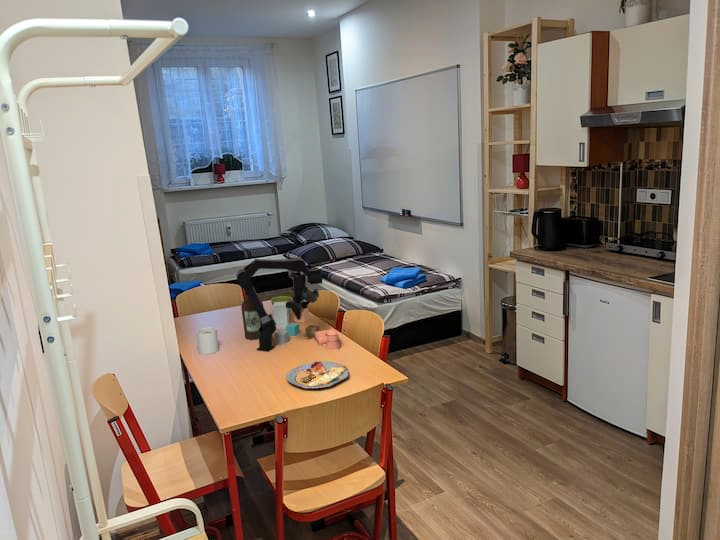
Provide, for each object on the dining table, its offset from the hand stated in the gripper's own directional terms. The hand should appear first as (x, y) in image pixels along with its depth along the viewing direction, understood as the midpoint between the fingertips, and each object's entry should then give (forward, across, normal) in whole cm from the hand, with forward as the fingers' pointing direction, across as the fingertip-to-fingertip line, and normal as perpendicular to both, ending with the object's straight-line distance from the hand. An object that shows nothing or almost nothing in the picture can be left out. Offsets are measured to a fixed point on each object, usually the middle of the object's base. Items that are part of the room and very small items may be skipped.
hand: (301, 317), depth 257 cm
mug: (+13, -19, +39) cm, 45 cm away
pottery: (+13, +3, -12) cm, 18 cm away
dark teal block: (+13, +11, +11) cm, 20 cm away
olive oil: (+13, +3, +28) cm, 31 cm away
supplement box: (+13, +20, +22) cm, 33 cm away
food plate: (+14, -33, -23) cm, 42 cm away
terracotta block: (+1, 0, 0) cm, 1 cm away
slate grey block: (+13, 0, +11) cm, 17 cm away
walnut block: (+13, +11, 0) cm, 17 cm away
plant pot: (+13, +32, +28) cm, 45 cm away
